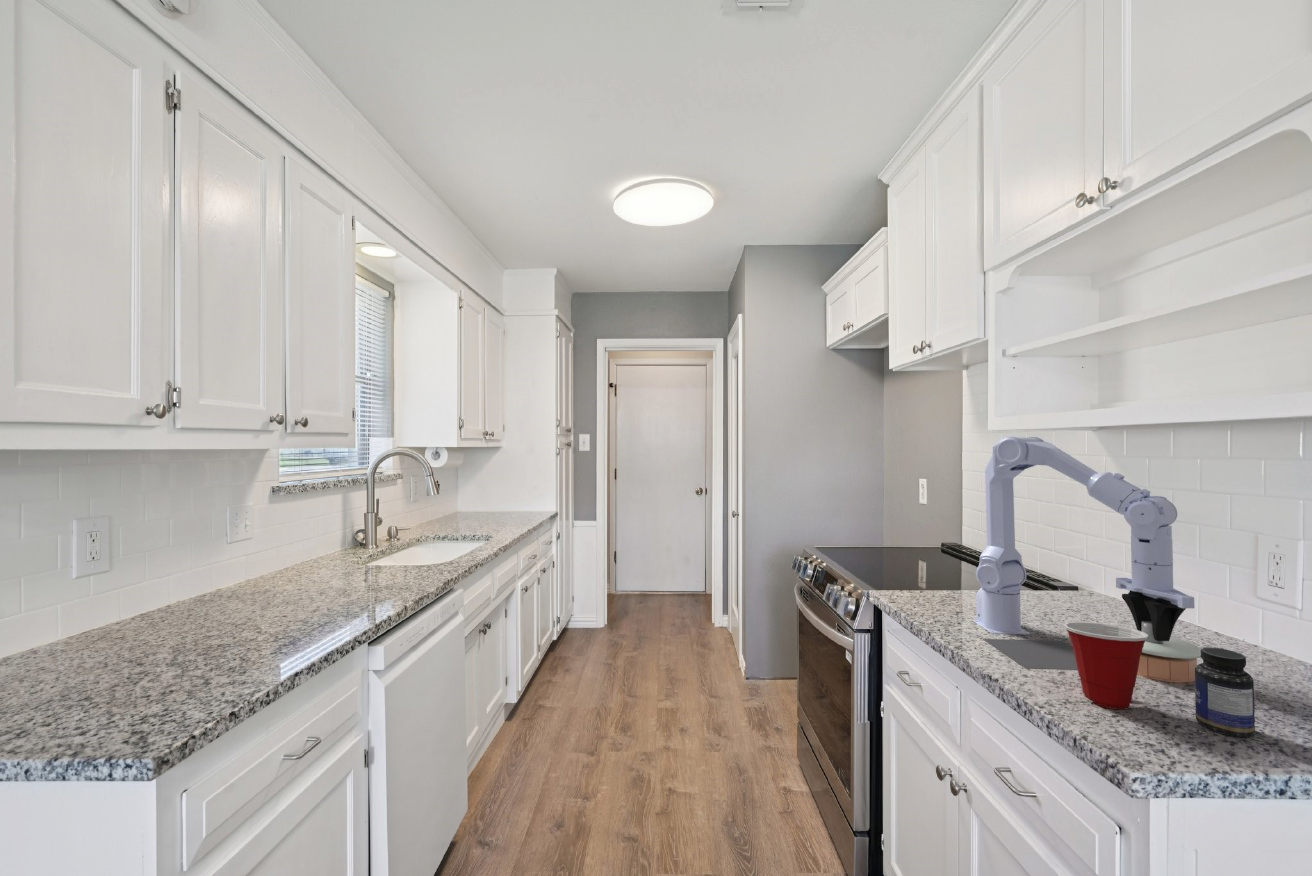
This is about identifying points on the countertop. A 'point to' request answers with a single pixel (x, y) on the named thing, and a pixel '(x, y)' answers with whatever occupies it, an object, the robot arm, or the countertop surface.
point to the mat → (1037, 653)
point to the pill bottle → (1224, 693)
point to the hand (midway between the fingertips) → (1153, 637)
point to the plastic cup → (1106, 661)
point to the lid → (1168, 645)
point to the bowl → (1167, 668)
